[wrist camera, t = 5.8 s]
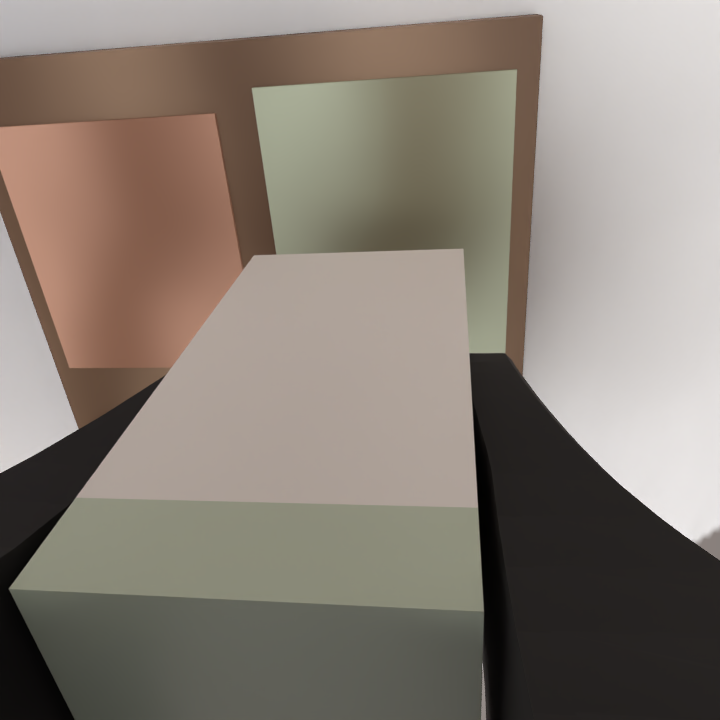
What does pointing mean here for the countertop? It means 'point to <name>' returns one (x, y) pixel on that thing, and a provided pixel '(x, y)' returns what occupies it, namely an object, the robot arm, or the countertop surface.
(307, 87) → the compartment tray
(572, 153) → the countertop surface
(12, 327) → the countertop surface
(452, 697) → the two-tone sage block
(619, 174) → the countertop surface
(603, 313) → the countertop surface
